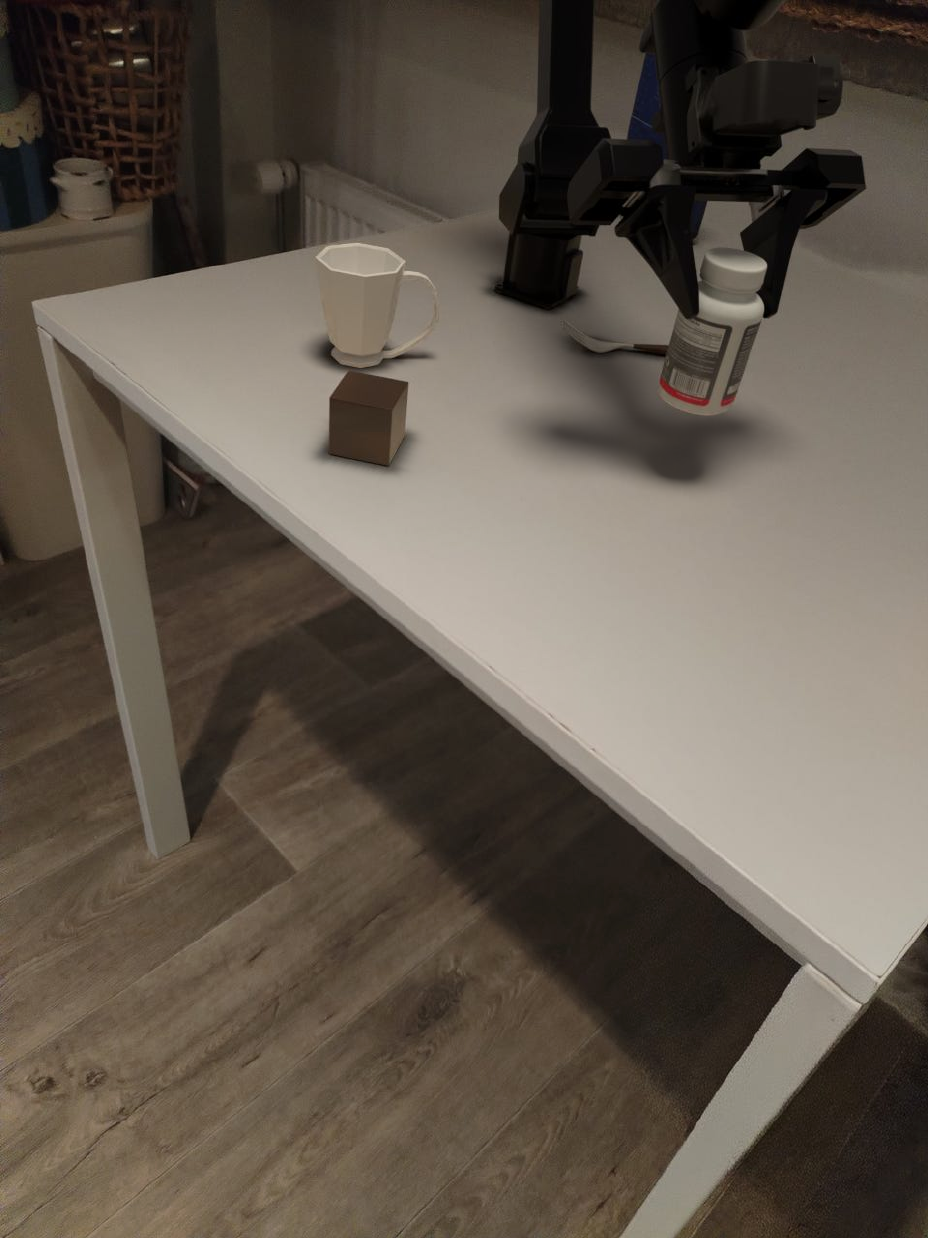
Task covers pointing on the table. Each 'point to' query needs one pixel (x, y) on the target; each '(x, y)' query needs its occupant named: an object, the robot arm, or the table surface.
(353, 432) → the walnut block
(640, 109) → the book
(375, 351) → the cup
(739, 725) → the table surface
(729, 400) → the pill bottle
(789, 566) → the table surface
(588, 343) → the fork
